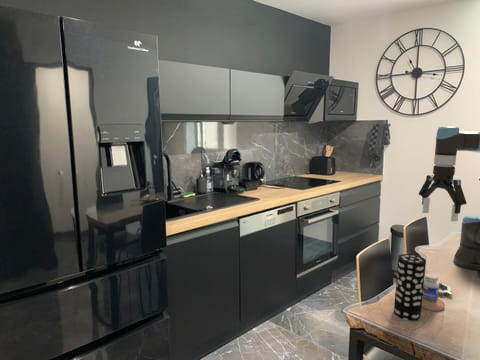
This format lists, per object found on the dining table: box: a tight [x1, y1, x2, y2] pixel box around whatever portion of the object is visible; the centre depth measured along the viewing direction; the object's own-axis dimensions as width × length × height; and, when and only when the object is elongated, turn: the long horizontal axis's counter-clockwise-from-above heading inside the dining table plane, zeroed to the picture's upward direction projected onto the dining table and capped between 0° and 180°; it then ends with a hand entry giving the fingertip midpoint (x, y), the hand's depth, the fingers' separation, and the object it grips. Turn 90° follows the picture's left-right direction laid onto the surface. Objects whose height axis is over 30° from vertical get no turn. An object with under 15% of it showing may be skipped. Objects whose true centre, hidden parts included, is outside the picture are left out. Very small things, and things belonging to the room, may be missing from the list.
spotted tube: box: [393, 253, 427, 322], centre depth 117 cm, size 8×8×20 cm
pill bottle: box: [422, 273, 440, 305], centre depth 125 cm, size 5×5×10 cm
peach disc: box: [422, 298, 446, 312], centre depth 126 cm, size 10×10×1 cm
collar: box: [437, 281, 453, 299], centre depth 136 cm, size 9×12×2 cm
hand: (439, 216), depth 143 cm, fingers open, 13 cm apart
